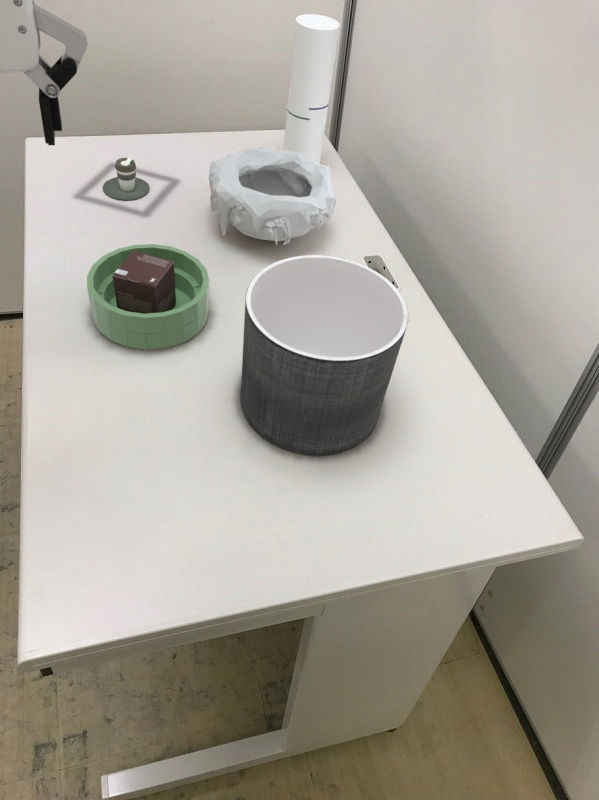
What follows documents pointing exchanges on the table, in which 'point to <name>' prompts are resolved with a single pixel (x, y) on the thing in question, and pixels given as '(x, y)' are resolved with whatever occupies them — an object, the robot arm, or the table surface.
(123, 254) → the green bowl
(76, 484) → the table surface
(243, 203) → the bowl
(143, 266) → the box
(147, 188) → the coffee cup
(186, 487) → the table surface
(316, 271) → the planter
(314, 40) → the cylindrical container
